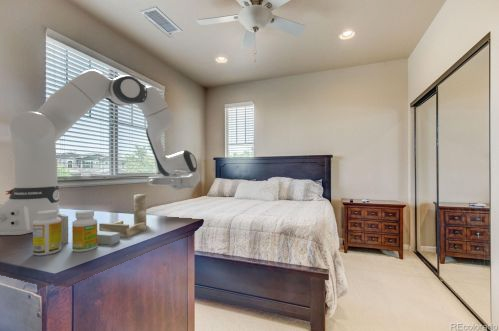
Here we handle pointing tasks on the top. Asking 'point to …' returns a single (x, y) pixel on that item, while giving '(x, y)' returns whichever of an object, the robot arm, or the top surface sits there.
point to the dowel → (139, 208)
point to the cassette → (64, 227)
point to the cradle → (122, 228)
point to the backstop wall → (107, 237)
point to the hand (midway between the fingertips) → (160, 182)
